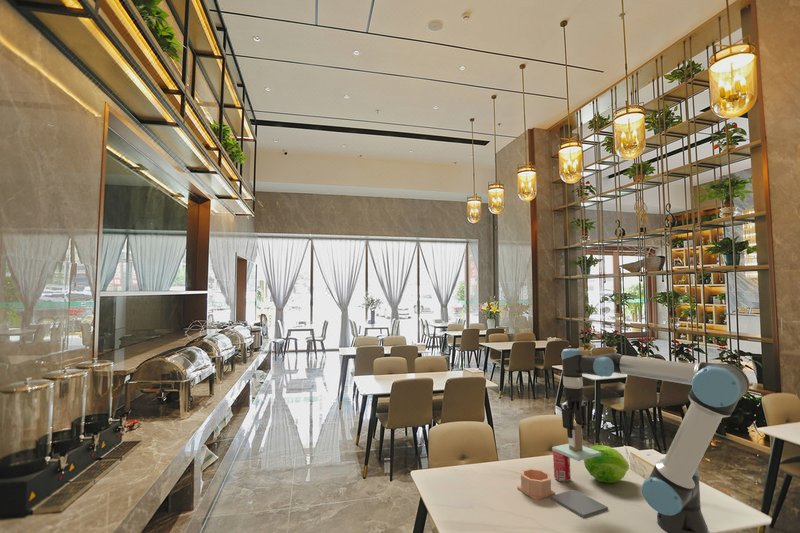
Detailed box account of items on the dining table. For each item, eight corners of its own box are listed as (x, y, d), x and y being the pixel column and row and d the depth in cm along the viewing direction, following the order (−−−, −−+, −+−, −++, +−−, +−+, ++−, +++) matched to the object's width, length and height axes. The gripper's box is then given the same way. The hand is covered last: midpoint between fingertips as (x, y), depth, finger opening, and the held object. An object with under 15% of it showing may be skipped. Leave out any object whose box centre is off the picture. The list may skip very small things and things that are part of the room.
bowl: (557, 495, 166) (556, 477, 167) (535, 501, 161) (535, 483, 161) (536, 483, 177) (535, 467, 177) (515, 488, 172) (515, 471, 172)
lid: (600, 455, 158) (599, 426, 159) (578, 461, 152) (576, 431, 153) (574, 445, 169) (572, 418, 170) (552, 450, 164) (550, 422, 165)
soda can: (572, 483, 177) (571, 453, 178) (555, 481, 178) (554, 452, 179) (568, 476, 184) (567, 447, 185) (552, 475, 185) (551, 446, 186)
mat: (607, 509, 155) (607, 506, 155) (583, 517, 149) (583, 515, 149) (574, 491, 169) (574, 489, 169) (550, 498, 163) (550, 496, 163)
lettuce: (638, 493, 173) (642, 459, 172) (594, 489, 172) (598, 455, 171) (615, 472, 189) (619, 441, 189) (575, 468, 188) (578, 437, 188)
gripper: (579, 383, 170) (582, 439, 168) (551, 386, 163) (553, 445, 161) (594, 386, 163) (597, 444, 161) (565, 390, 156) (568, 451, 154)
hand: (575, 444), depth 161 cm, fingers closed on lid, 4 cm apart
